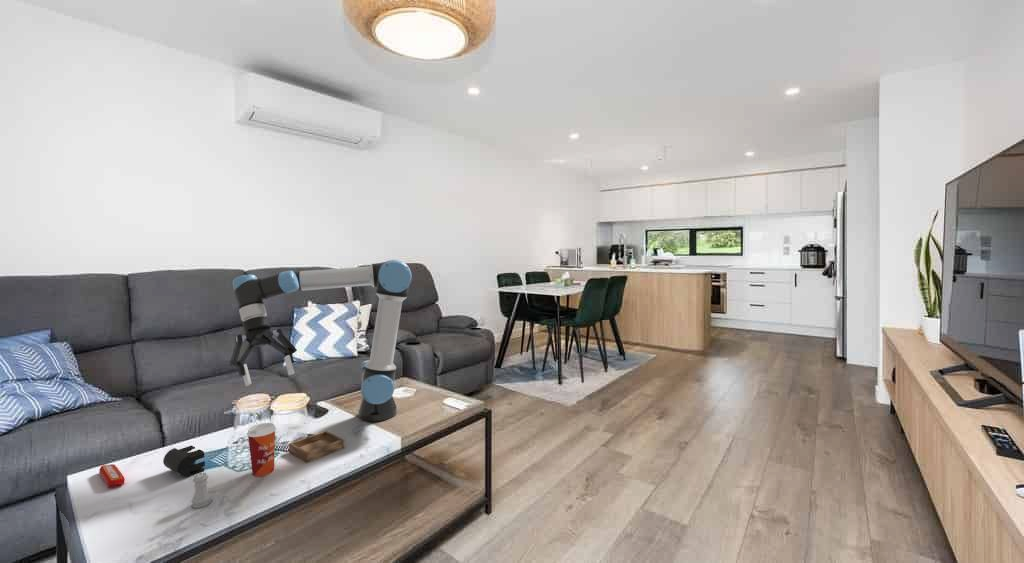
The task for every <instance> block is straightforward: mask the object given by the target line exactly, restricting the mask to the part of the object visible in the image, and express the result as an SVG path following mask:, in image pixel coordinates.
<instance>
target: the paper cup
mask: <svg viewBox="0 0 1024 563" xmlns="http://www.w3.org/2000/svg"><path fill="white" fill-rule="evenodd" d="M276 431H277V427H276V426H275V424H274V423H273V422H272V423H271V422H264V423H258V424H254V425H252V426H251V427H249V428H248V430H247V432H246V436H247V438H248V446H249V455H250V463H251V469H252V475H253V476H254V477H256V478H257V477H264V476H268V475H270V474H272V472H274V469H275V456H276V455H275V453H276V452H275V449H276V447H275V446H276V445H275V444H276V442H275V441H276Z"/></svg>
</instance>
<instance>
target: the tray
mask: <svg viewBox="0 0 1024 563" xmlns="http://www.w3.org/2000/svg"><path fill="white" fill-rule="evenodd" d="M343 449H345V439H344V438H342V437H340V436H338V435H336V434H335V433H332V432H330V431H328V430H325V431H321V432H317V433H315V434H312V435H310V436H309V435H308V436H306V437H303V438H300V439H298V440H295V441H292V442H289V443H288V452H289V453H290V454H292V455H293V456H294V457H296V458H297V459H299V460H301V461H303V462H304V463H305V464H308V463H309V462H313V461H315V460H318V459H320V458H323V457H325V456H328V455H330V454H333V453H335V452H338V451H340V450H343Z"/></svg>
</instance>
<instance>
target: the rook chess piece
mask: <svg viewBox="0 0 1024 563" xmlns="http://www.w3.org/2000/svg"><path fill="white" fill-rule="evenodd" d="M193 476H194V478H193V479H192V481H193V482H194V488H195V489H194V494H193V497H192V499H191V506H190V507H192V508H194V509H201V508H204V507H207V506H209V504H210V503H211V502H212V501H213V498H212V494H211V493H210V491H209V489H208V481H207V479H208V478H209V475H207V472H201V473H198V474H196V475H193Z"/></svg>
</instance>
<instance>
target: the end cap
mask: <svg viewBox="0 0 1024 563" xmlns="http://www.w3.org/2000/svg"><path fill="white" fill-rule="evenodd" d="M195 449H196V447H195V446H194V445H189V446H185V447H182V448H180V449H178V448H176V447H174V448H171V449H170V450H168V451H167V452H166V454H165V455H164V457H163V460H162V462H163V465H164V467H165V468H167V469H170V470H171V471H173V472H174V473H176V474H177V475H180V476H182V477H185V478H190V477H192V476H196V474H198V475H199V473H204V472H205V466H206V461H205V460H203V461H201V462H198V463H197V461H199V460H200V459H203V458H205V451H204V450H201V449H196V450H195ZM192 450H194V451H192Z"/></svg>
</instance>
